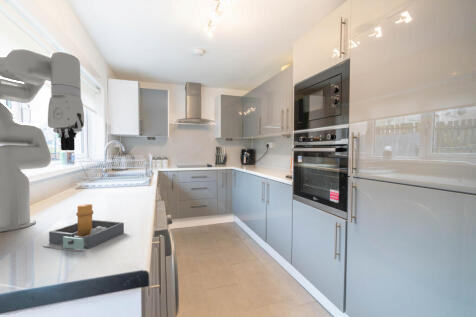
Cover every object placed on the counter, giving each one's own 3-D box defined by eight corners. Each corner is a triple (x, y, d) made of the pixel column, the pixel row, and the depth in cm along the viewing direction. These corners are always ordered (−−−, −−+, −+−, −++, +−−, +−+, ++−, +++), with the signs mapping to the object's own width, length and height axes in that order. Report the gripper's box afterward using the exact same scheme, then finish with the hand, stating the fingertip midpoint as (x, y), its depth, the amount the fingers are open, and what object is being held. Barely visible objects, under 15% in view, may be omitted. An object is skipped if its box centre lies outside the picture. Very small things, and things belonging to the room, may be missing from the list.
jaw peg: (72, 236, 70) (72, 206, 70) (87, 231, 74) (87, 203, 74) (82, 238, 69) (82, 207, 68) (96, 233, 73) (96, 204, 73)
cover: (60, 248, 62) (59, 238, 62) (65, 246, 63) (64, 236, 63) (79, 251, 60) (78, 240, 60) (83, 248, 61) (83, 238, 61)
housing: (40, 246, 65) (40, 233, 64) (88, 228, 79) (87, 218, 79) (81, 252, 60) (81, 238, 60) (123, 232, 75) (123, 221, 75)
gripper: (36, 92, 68) (37, 150, 68) (72, 88, 64) (74, 149, 64) (61, 98, 75) (62, 150, 75) (95, 95, 71) (96, 150, 72)
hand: (67, 150), depth 70 cm, fingers closed
